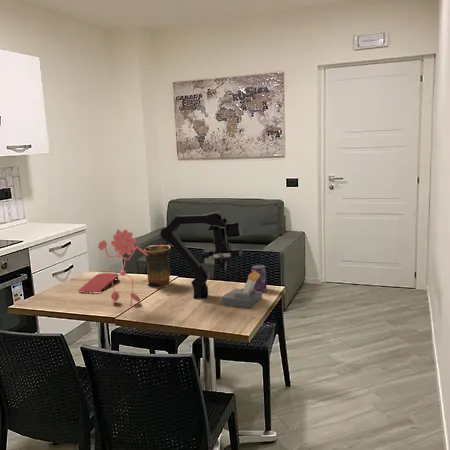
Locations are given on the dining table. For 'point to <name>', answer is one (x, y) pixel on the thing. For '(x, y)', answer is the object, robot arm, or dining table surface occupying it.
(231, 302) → the box
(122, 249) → the figurine
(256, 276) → the lever
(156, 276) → the vessel
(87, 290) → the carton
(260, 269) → the beverage can
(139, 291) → the dining table surface
